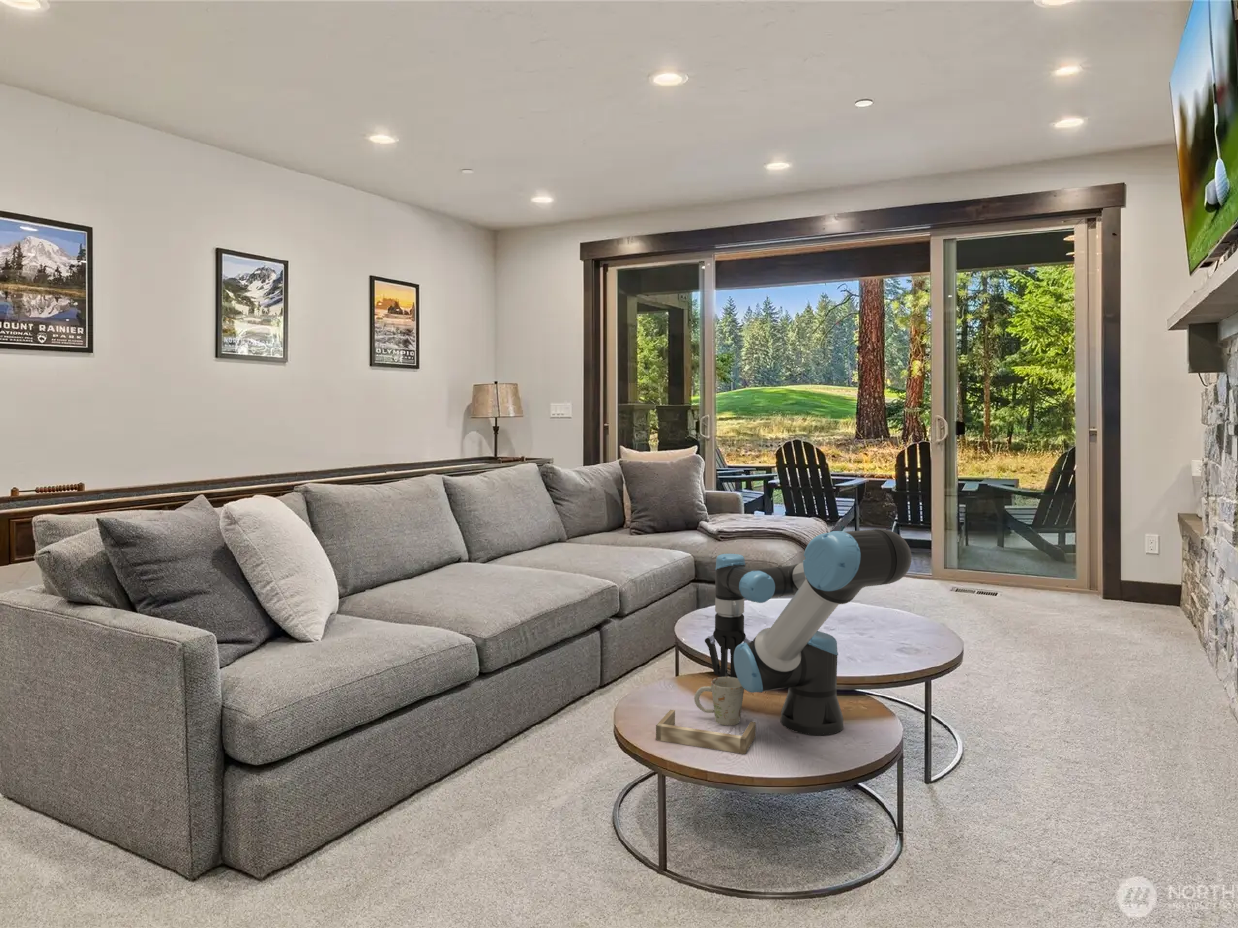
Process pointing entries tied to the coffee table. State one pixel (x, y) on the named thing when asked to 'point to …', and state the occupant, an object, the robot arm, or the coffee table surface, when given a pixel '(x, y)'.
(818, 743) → the coffee table surface
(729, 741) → the bay
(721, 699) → the mug
